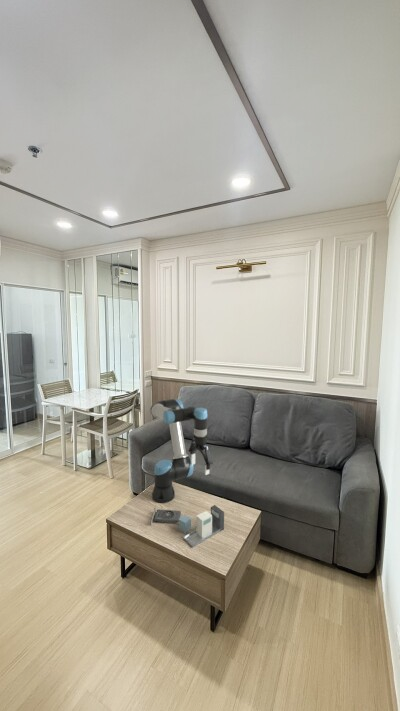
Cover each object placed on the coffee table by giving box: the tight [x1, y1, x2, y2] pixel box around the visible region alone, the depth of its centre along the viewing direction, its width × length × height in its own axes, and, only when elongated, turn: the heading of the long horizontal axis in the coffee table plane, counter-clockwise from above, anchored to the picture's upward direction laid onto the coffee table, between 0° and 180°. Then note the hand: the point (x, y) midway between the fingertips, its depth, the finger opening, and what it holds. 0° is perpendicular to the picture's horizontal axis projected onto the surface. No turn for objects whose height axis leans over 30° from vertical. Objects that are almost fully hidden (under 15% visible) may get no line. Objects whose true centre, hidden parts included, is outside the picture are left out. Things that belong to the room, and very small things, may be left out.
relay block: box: [178, 514, 192, 534], centre depth 162 cm, size 5×5×6 cm
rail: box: [183, 504, 225, 549], centre depth 158 cm, size 8×22×10 cm, turn 128°
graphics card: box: [150, 507, 181, 526], centre depth 170 cm, size 17×4×12 cm
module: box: [195, 510, 212, 538], centre depth 158 cm, size 5×7×10 cm
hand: (199, 469), depth 169 cm, fingers open, 13 cm apart
